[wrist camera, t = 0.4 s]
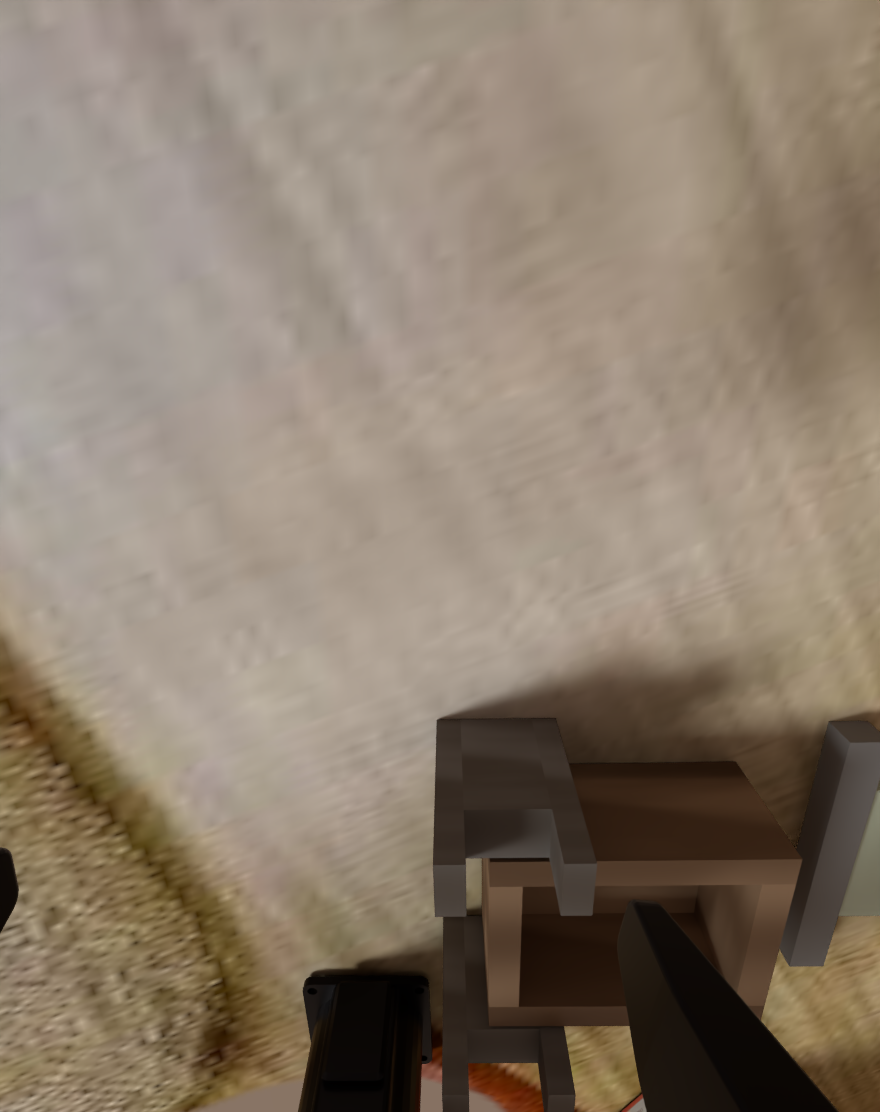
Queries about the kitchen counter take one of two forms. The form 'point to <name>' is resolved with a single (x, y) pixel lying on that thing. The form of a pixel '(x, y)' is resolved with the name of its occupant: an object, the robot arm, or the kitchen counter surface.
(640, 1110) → the cracker box
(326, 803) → the kitchen counter surface
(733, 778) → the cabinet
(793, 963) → the door
